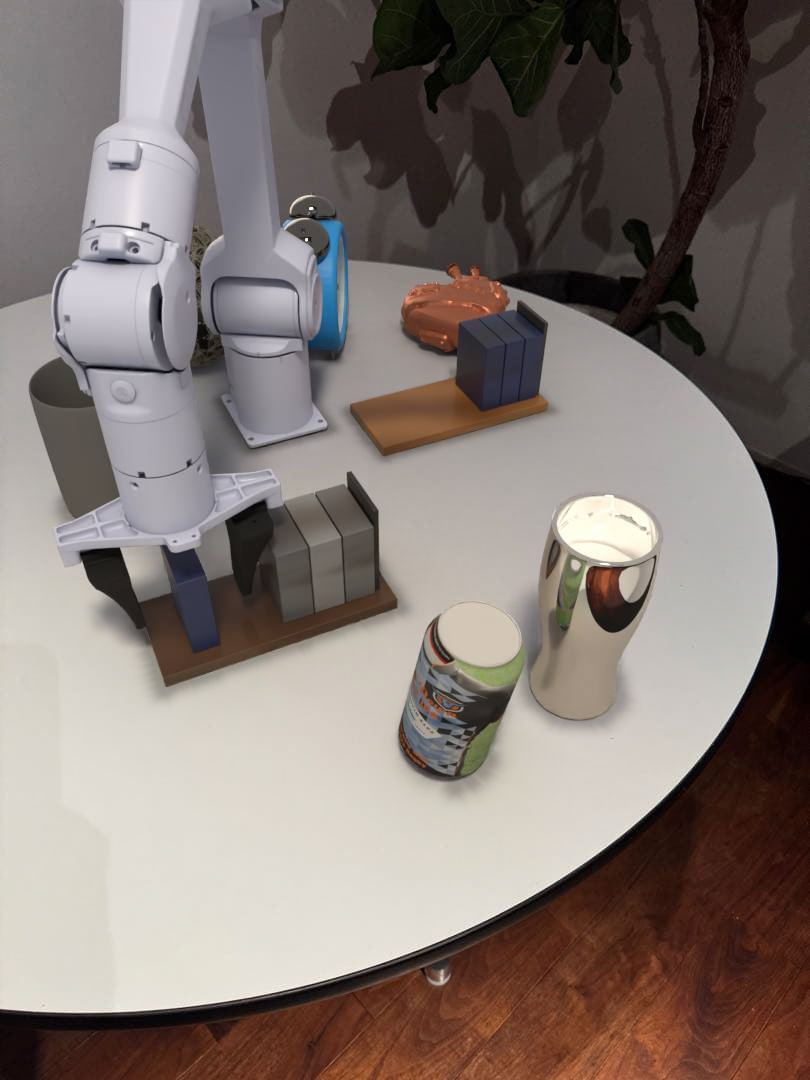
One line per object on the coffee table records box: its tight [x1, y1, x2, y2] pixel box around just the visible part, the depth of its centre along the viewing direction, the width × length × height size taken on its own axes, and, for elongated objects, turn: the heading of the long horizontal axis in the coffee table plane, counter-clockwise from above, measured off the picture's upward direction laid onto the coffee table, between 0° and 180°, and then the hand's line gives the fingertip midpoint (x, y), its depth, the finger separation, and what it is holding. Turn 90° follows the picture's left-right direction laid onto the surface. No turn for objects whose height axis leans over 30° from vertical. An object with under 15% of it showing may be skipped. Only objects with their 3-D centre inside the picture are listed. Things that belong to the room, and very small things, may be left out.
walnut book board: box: [138, 470, 398, 688], centre depth 64 cm, size 8×18×9 cm, turn 116°
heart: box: [400, 262, 511, 353], centre depth 97 cm, size 6×12×15 cm
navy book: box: [159, 545, 220, 653], centre depth 62 cm, size 6×2×7 cm, turn 26°
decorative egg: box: [189, 222, 225, 368], centre depth 88 cm, size 12×12×15 cm
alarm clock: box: [281, 192, 349, 360], centre depth 91 cm, size 13×6×15 cm, turn 178°
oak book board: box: [349, 299, 549, 457], centre depth 84 cm, size 8×18×9 cm, turn 115°
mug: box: [28, 356, 120, 519], centre depth 74 cm, size 14×9×12 cm
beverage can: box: [398, 599, 526, 779], centre depth 54 cm, size 6×7×12 cm
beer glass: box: [529, 491, 664, 721], centre depth 56 cm, size 7×7×15 cm
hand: (191, 602), depth 63 cm, fingers open, 7 cm apart
